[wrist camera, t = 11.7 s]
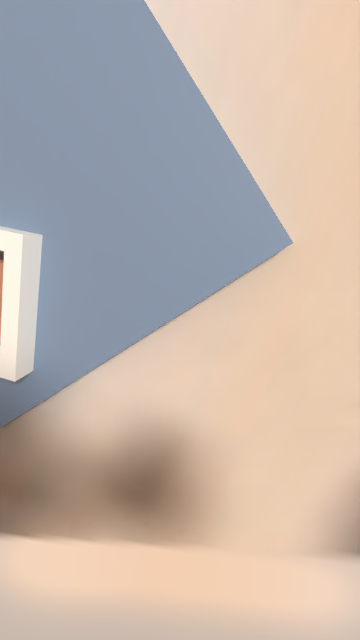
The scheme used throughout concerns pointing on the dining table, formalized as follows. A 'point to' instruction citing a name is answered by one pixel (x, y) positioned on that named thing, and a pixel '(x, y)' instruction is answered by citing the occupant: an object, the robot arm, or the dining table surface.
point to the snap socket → (19, 301)
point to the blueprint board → (114, 184)
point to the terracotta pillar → (0, 288)
